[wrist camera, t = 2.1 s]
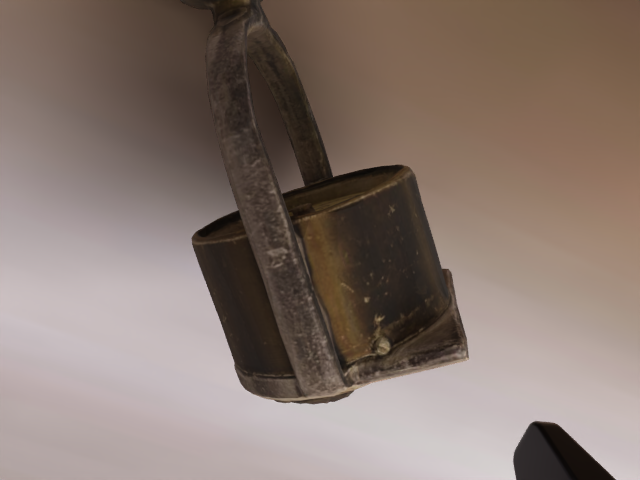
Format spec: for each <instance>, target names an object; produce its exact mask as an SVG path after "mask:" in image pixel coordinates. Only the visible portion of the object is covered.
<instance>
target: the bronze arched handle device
mask: <svg viewBox="0 0 640 480" xmlns="http://www.w3.org/2000/svg"><path fill="white" fill-rule="evenodd" d="M180 1H181V2H182V3H184V4H187V5H189V6H192V7H194V8H197V9H210V10H211V11H212V14H213V19H214V25H215V26H214V27H213V29H212V30H211V31H210V34H209V37H208V41H207V48H206V56H205V57H206V71H207V86H208V96H209V100H210V105H211V110H212V115H213V119H214V124H215V129H216V133H217V137H218V141H219V145H220V149H221V153H222V157H223V161H224V164H225V168H226V171H227V175H228V178H229V182H230V185H231V188H232V191H233V194H234V197H235V200H236V203H237V206H238V209H239V210H238V211H235V212H233V213H231V214H228V215H226V216H224V217H221V218H219V219H217V220H215V221H214V222H212V223H210V224H208V225H207V226H205V227H204V228H202V229H200V230H198V231H196V233H195V234H194V235H193V237H192V245H193V248H194V251H195V254H196V257H197V260H198V262H199V265H200V268H201V271H202V273H203V276H204V279H205V281H206V284H207V287H208V289H209V292H210V295H211V297H212V300H213V303H214V305H215V308H216V311H217V313H218V316H219V319H220V321H221V324H222V327H223V330H224V333H225V336H226V339H227V342H228V345H229V348H230V350H231V353H232V356H233V359H234V362H235V365H234V366H235V370H236V373H237V375H238V378H239V380H240V383H241V384H242V386H243V387H244V388H245V389H246V390H247V391H249V392H251V393H252V394H255V395H257V396H260V397H263V398H266V399H272V400H275V401H276V402H282V403H290V402H294V403H299V404H302V403H308V404H319V403H328V402H335V401H337V400H340V399H342V398H345V397H348V396H349V395H350V394H351V393H352V392H353V391H354V390H355V389H358V388H360V387H363V386H365V385H368V384H370V383H373V382H377V381H382V380H386V379H391V378H395V377H399V376H404V375H408V374H412V373H417V372H421V371H425V370H430V369H434V368H438V367H442V366H446V365H451V364H455V363H459V362H463V361H467V360H469V356H468V347H467V338H466V335H465V331H464V328H463V324H462V321H461V317H460V314H459V310H458V307H457V303H456V296H455V290H454V285H453V279H452V274H451V272H450V271H449V269H442V268H441V265H440V261H439V258H438V254H437V251H436V247H435V244H434V240H433V237H432V234H431V230H430V227H429V224H428V221H427V217H426V214H425V211H424V207H423V204H422V201H421V197H420V193H419V189H418V185H417V181H416V177H415V174H414V173H413V171H412V170H411V169H410V168H409V167H407V166H403V165H392V166H380V167H374V168H369V169H363V170H359V171H355V172H351V173H347V174H343V175H339V176H335V177H333V175H332V171H331V168H330V164H329V161H328V158H327V154H326V151H325V148H324V144H323V141H322V138H321V136H320V133H319V130H318V127H317V124H316V121H315V118H314V116H313V113H312V110H311V108H310V105H309V102H308V100H307V97H306V94H305V92H304V89H303V86H302V84H301V81H300V79H299V76H298V73H297V71H296V68H295V66H294V63H293V61H292V60H291V58H290V57H289V55H288V53H287V51H286V48H285V46H284V44H283V42H282V41H281V39H280V38H279V36H278V34H277V33H276V32H275V31H274V30H273V29H272V28H271V27H270V25H269V22H268V20H267V18H266V15H265V13H264V11H263V9H262V7H261V4H260V2H261V1H263V0H180ZM247 54H248V55H249V56H250V57H251V59H252V60H253V62H254V63H255V65H256V66H257V68H258V69H259V71H260V73H261V74H262V76H263V77H264V79H265V81H266V82H267V84H268V86H269V88H270V90H271V92H272V94H273V96H274V98H275V100H276V102H277V105H278V107H279V110H280V113H281V115H282V118H283V121H284V124H285V126H286V129H287V132H288V135H289V138H290V141H291V144H292V147H293V150H294V153H295V156H296V159H297V162H298V165H299V168H300V171H301V175H302V178H303V181H304V184H305V187H302V188H298V189H294V190H291V191H289V192H286V193H283V194H282V193H281V191H280V188H279V185H278V182H277V179H276V177H275V174H274V171H273V168H272V165H271V163H270V160H269V157H268V154H267V151H266V149H265V146H264V143H263V140H262V137H261V134H260V131H259V128H258V125H257V122H256V119H255V114H254V109H253V102H252V96H251V90H250V83H249V77H248V70H247Z"/></svg>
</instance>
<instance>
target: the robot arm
mask: <svg viewBox="0 0 640 480" xmlns="http://www.w3.org/2000/svg"><path fill="white" fill-rule="evenodd" d="M513 462H514V469H515V475H516V480H616V479H615V478H614V477H613V476H611V475H610V474H609V473H608V472H607V471H606V470H605V469H604V468H603V467H602V466H601V465H600V464H599V463H598V462H597V461H596V460H595V459H594V458H593V457H592V456H591V455H590V454H588V453H587V452H586V451H585V450H584V449H583V448H582V447H581V446H580V445H579V444H578V443H577V442H576V441H575V440H574V439H573V438H572V437H571V436H570V435H569V434H568V433H566V432H565V431H564V430H563V429H562V428H561V427H560V426H559V425H557V424H555V423H551V422H540V421H535V422H533V423H531V424H530V425H529V426H528V428H527V430H526V432H525V433H524V435H523V437H522V439H521V440H520V442H519V444H518V446H517V447H516V449H515V452H514V458H513Z"/></svg>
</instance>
